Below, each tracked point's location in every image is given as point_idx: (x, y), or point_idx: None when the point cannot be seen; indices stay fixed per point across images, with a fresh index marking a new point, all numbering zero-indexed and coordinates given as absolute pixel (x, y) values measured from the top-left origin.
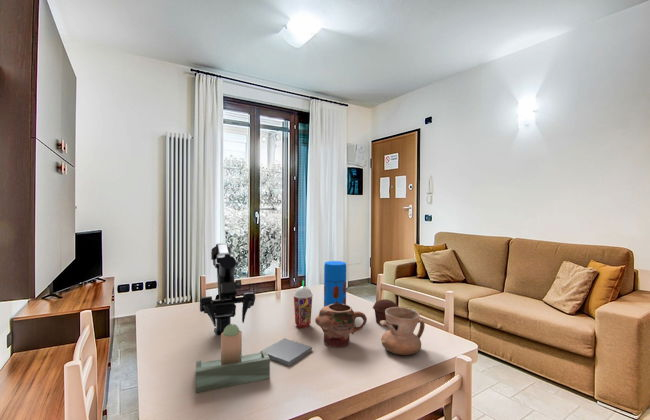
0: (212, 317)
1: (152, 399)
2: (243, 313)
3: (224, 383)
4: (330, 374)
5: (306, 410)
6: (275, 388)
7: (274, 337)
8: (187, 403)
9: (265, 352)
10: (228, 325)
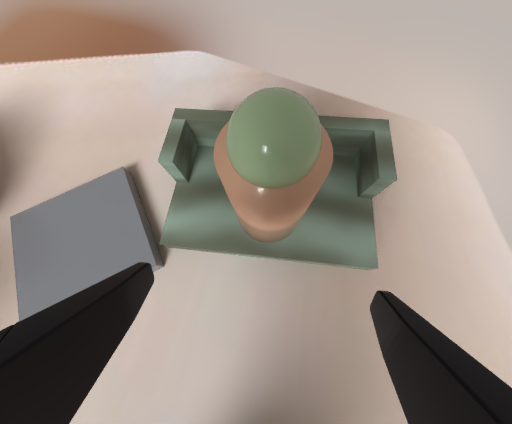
0: (486, 372)
1: (456, 173)
2: (67, 315)
3: None
4: (83, 112)
5: (186, 53)
6: None
7: None
8: None
9: (167, 145)
10: (298, 103)
